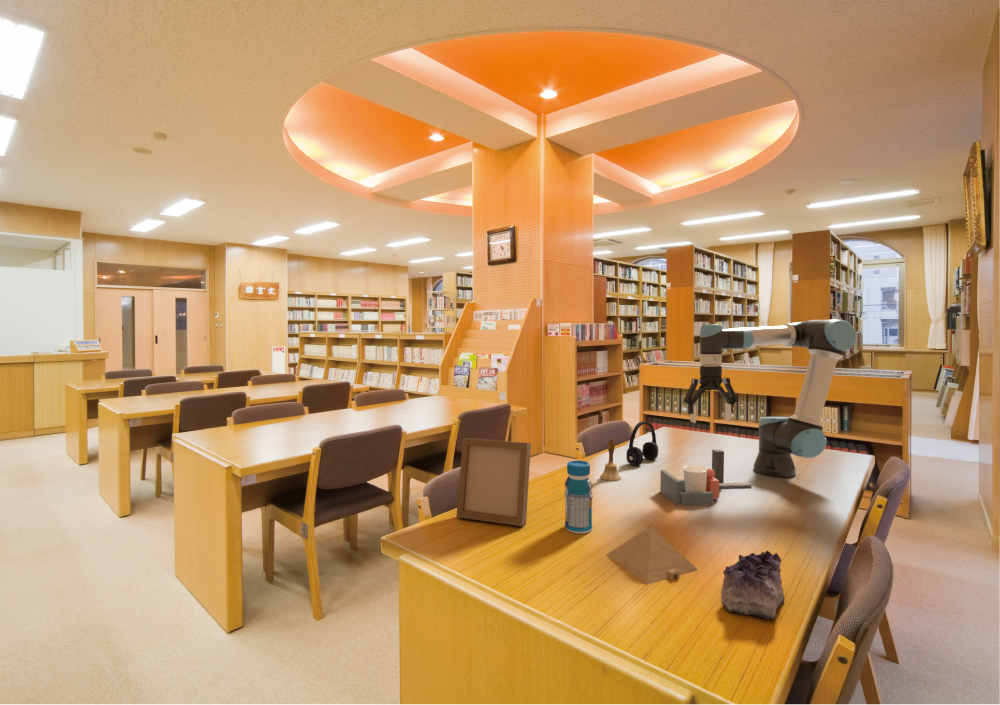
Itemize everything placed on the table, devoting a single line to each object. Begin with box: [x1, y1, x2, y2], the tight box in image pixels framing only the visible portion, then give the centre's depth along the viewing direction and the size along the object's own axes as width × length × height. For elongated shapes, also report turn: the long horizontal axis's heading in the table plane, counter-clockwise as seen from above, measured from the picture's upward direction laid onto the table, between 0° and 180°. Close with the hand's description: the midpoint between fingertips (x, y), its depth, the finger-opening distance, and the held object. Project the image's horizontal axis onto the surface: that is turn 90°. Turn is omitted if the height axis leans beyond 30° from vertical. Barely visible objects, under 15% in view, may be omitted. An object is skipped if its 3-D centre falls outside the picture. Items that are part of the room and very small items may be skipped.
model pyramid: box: [605, 525, 699, 585], centre depth 121 cm, size 17×17×10 cm
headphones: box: [626, 421, 659, 467], centre depth 213 cm, size 20×7×18 cm, turn 133°
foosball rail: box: [719, 481, 752, 490], centre depth 179 cm, size 30×3×1 cm, turn 94°
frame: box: [659, 469, 714, 507], centre depth 168 cm, size 12×15×8 cm
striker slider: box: [706, 449, 725, 500], centre depth 173 cm, size 12×15×14 cm
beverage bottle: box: [563, 459, 594, 535], centre depth 142 cm, size 8×8×20 cm
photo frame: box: [456, 437, 532, 527], centre depth 153 cm, size 15×22×25 cm
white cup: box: [682, 465, 708, 492], centre depth 168 cm, size 8×8×10 cm
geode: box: [720, 550, 785, 620], centre depth 105 cm, size 20×12×10 cm, turn 139°
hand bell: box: [600, 438, 622, 482], centre depth 191 cm, size 8×8×16 cm
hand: (710, 421), depth 178 cm, fingers open, 13 cm apart
